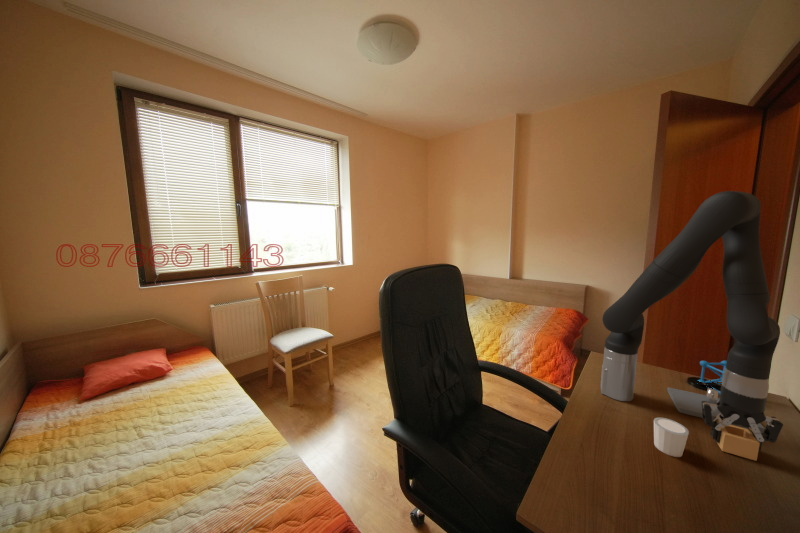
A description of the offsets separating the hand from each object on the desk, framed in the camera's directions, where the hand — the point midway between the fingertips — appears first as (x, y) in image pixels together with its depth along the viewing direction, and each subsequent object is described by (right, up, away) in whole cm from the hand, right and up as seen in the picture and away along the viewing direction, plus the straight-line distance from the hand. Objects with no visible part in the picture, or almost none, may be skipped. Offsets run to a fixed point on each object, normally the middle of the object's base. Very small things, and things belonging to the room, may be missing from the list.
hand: (734, 445), depth 74 cm
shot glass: (-17, -1, +1) cm, 18 cm away
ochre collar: (0, -1, 0) cm, 1 cm away
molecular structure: (+28, +3, +26) cm, 38 cm away
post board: (+12, +1, +16) cm, 20 cm away
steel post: (+12, +3, +16) cm, 20 cm away
